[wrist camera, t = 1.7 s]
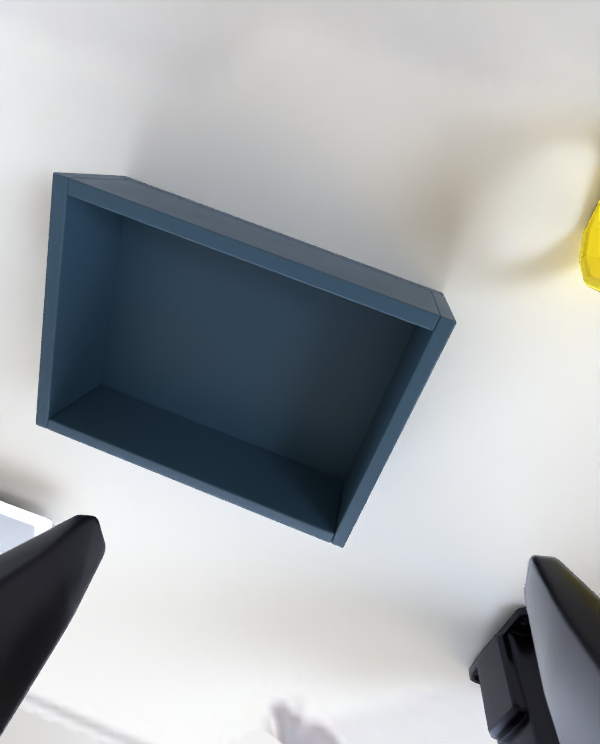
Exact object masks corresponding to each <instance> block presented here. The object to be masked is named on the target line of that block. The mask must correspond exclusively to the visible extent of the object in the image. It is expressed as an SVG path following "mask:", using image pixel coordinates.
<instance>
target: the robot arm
mask: <svg viewBox="0 0 600 744" xmlns="http://www.w3.org/2000/svg"><path fill="white" fill-rule="evenodd" d="M104 552H105V541H104V538H103V534H102V531H101V528H100V524H99V521H98V519H97V518H96V517H94V516H90V515H76V516H74V517H72V518H70V519H68V520H66V521H64V522H63V523H61V524H59V525H57V526H55V527H53V528H51V529H49V530H47V531H45V532H43V533H41V534H39V535H37V536H35V537H33V538H32V539H30V540H28V541H26V542H24V543H22V544H20V545H18V546H16V547H14V548H12V549H10V550H8V551H6V552H4V553H2V554H1V555H0V736H1V735H2V733H3V731H4V730H5V728H6V726H7V725H8V723H9V722H10V720H11V718H12V717H13V715H14V713H15V712H16V710H17V709H18V707H19V705H20V704H21V702H22V700H23V699H24V697H25V696H26V694H27V692H28V691H29V689H30V687H31V686H32V684H33V682H34V681H35V679H36V678H37V676H38V674H39V673H40V671H41V669H42V668H43V666H44V664H45V663H46V661H47V660H48V658H49V656H50V655H51V653H52V651H53V650H54V648H55V646H56V645H57V643H58V642H59V640H60V638H61V637H62V635H63V633H64V632H65V630H66V628H67V627H68V625H69V623H70V621H71V619H72V618H73V616H74V614H75V612H76V610H77V608H78V606H79V604H80V602H81V600H82V598H83V596H84V594H85V592H86V590H87V588H88V586H89V584H90V582H91V580H92V578H93V576H94V574H95V572H96V570H97V568H98V566H99V564H100V562H101V560H102V558H103V555H104ZM525 602H526V607H527V608H521V609H518V610H517V611H515V613H514V614H513V615H512V616H511V618H510V619H509V620H508V621H507V623H506V624H505V625H504V626H503V627H502V629H501V630H500V631H499V632H498V634H497V635H496V636H495V637H494V638H493V639H492V640H491V642H490V643H489V644H488V645H487V647H486V648H485V649H484V650H483V651H482V653H481V654H480V655H479V656H478V658H477V659H476V661H475V662H474V663H473V664H472V666H471V667H470V668H469V675H470V679H471V680H472V681H473V682H475V683H477V684H480V685H481V691H482V697H483V703H484V708H485V714H486V720H487V725H488V731H489V733H490V735H491V737H492V738H494V739H496V740H497V741H498V744H600V598H599V597H598V596H597V595H596V594H595V593H594V592H593V591H592V590H591V589H590V588H589V587H588V586H586V585H585V584H584V583H583V582H582V581H581V580H580V579H579V578H578V577H577V576H576V575H575V574H574V573H573V572H571V571H570V570H569V569H568V568H567V567H566V566H565V565H564V564H563V563H562V562H561V561H560V560H558V559H557V558H555V557H550V556H539V555H534V556H532V557H531V558H530V560H529V565H528V571H527V577H526V583H525Z"/></svg>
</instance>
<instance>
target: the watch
mask: <svg viewBox="0 0 600 744" xmlns="http://www.w3.org/2000/svg"><path fill="white" fill-rule="evenodd" d="M580 266H581V270H582V274H583V279H584V282H585V283H586V285H587V286H589V287H591V288H593V289H595V290H597V291H599V292H600V200H599V202H598V204H597V206H596V208H595V210H594V212H593V214H592V216H591V218H590V220H589V222H588V225H587V227H586V229H585V230H584V233H583V240H582V246H581V252H580Z"/></svg>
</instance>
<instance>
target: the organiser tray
mask: <svg viewBox="0 0 600 744" xmlns="http://www.w3.org/2000/svg"><path fill="white" fill-rule="evenodd" d="M455 325H456V320H455V318H454V316H453V314H452V312H451V310H450V308H449V306H448V303H447V301H446V299H445V297H444V295H443V293H441V292H438V291H435V290H432V289H430V288H427V287H424V286H422V285H419V284H416V283H413V282H411V281H408V280H405V279H403V278H400V277H397V276H394V275H392V274H389V273H386V272H384V271H381V270H378V269H375V268H373V267H370V266H367V265H365V264H362V263H359V262H356V261H354V260H351V259H348V258H346V257H343V256H340V255H337V254H335V253H332V252H329V251H327V250H324V249H321V248H318V247H316V246H313V245H310V244H308V243H305V242H302V241H299V240H297V239H294V238H291V237H289V236H286V235H283V234H280V233H278V232H275V231H272V230H270V229H267V228H264V227H261V226H259V225H256V224H253V223H251V222H248V221H245V220H242V219H240V218H237V217H234V216H232V215H229V214H226V213H223V212H221V211H218V210H215V209H213V208H210V207H207V206H204V205H202V204H199V203H196V202H194V201H191V200H188V199H185V198H183V197H180V196H177V195H175V194H172V193H169V192H166V191H164V190H161V189H158V188H156V187H153V186H150V185H147V184H145V183H142V182H139V181H137V180H134V179H131V178H128V177H126V176H115V175H96V174H77V173H57V172H54V173H53V184H52V199H51V213H50V227H49V242H48V256H47V271H46V285H45V299H44V314H43V328H42V342H41V357H40V371H39V386H38V400H37V414H36V425H39V426H41V427H44V428H48V429H49V430H52V431H54V432H57V433H59V434H62V435H64V436H66V437H69V438H71V439H74V440H76V441H79V442H81V443H84V444H86V445H89V446H91V447H94V448H96V449H99V450H101V451H104V452H106V453H109V454H111V455H114V456H116V457H118V458H121V459H123V460H126V461H128V462H131V463H133V464H136V465H138V466H141V467H143V468H146V469H148V470H151V471H153V472H156V473H158V474H161V475H163V476H166V477H168V478H171V479H173V480H175V481H178V482H180V483H183V484H185V485H188V486H190V487H193V488H195V489H198V490H200V491H203V492H205V493H208V494H210V495H213V496H215V497H218V498H220V499H223V500H225V501H228V502H230V503H232V504H235V505H237V506H240V507H242V508H245V509H247V510H250V511H252V512H255V513H257V514H260V515H262V516H265V517H267V518H270V519H272V520H275V521H277V522H280V523H282V524H284V525H287V526H289V527H292V528H294V529H297V530H299V531H302V532H304V533H307V534H309V535H312V536H314V537H317V538H319V539H322V540H324V541H327V542H331V543H332V544H334V545H337V546H339V547H341V548H343V547H344V545H345V543H346V541H347V539H348V537H349V535H350V533H351V531H352V529H353V527H354V525H355V523H356V521H357V519H358V517H359V515H360V513H361V511H362V509H363V507H364V505H365V503H366V501H367V499H368V497H369V495H370V493H371V491H372V489H373V487H374V485H375V483H376V481H377V479H378V477H379V475H380V473H381V472H382V470H383V468H384V466H385V464H386V462H387V460H388V458H389V456H390V454H391V452H392V450H393V448H394V446H395V444H396V442H397V440H398V438H399V436H400V434H401V432H402V430H403V428H404V426H405V424H406V422H407V420H408V418H409V416H410V414H411V412H412V410H413V408H414V406H415V404H416V402H417V400H418V398H419V396H420V394H421V392H422V390H423V388H424V386H425V384H426V382H427V380H428V378H429V376H430V374H431V372H432V370H433V368H434V366H435V364H436V362H437V360H438V358H439V356H440V354H441V352H442V351H443V349H444V347H445V345H446V343H447V341H448V339H449V337H450V335H451V333H452V331H453V329H454V327H455Z"/></svg>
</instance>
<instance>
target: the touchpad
mask: <svg viewBox="0 0 600 744" xmlns="http://www.w3.org/2000/svg"><path fill="white" fill-rule="evenodd" d="M49 529H51V519H48V518H45V517H43V516H40V515H37V514H35V513H32V512H29V511H27V510H24V509H21V508H18V507H16V506H13V505H10V504H8V503H5V502H2V501H0V555H1V554H2V553H4V552H6V551H8V550H10V549H12V548H14V547H16V546H18V545H20V544H22V543H24V542H26V541H28V540H30V539H32V538H33V537H35V536H37V535H39V534H41V533H43V532H45V531H47V530H49Z"/></svg>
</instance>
